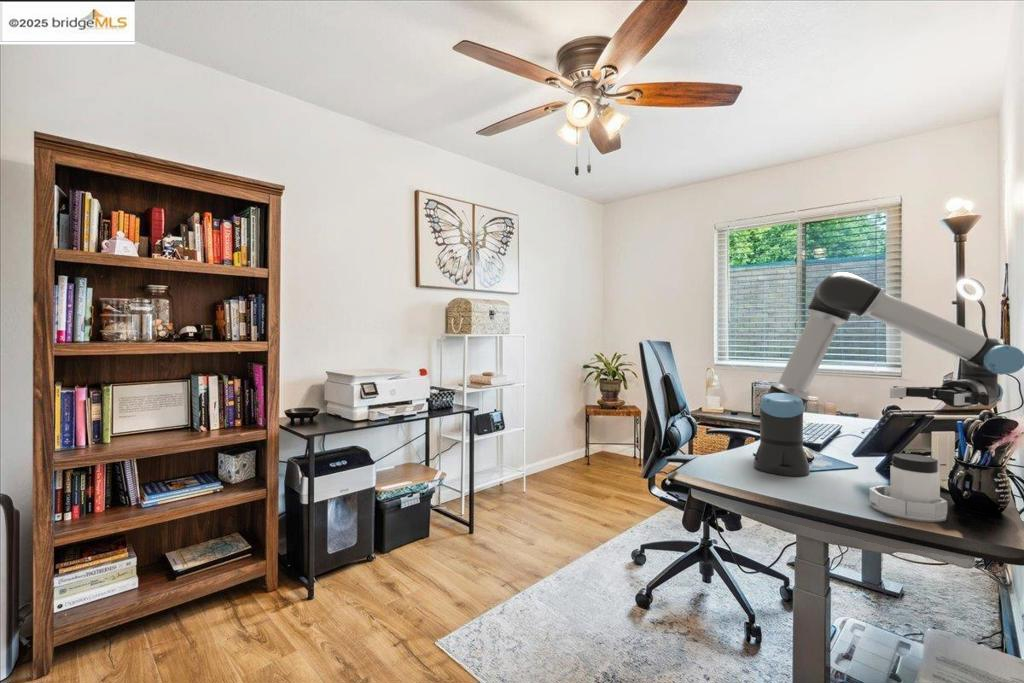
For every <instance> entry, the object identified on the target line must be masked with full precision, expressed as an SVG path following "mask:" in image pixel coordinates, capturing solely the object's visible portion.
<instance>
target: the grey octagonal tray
mask: <svg viewBox="0 0 1024 683" xmlns="http://www.w3.org/2000/svg"><path fill="white" fill-rule="evenodd" d="M869 501H870V503H869V505H870V507H871V508H872V509H873V510H875V511H877V512H879V513H881V514H885V515H887V516H890V517H893V518H896V519H897V518H898V519H900V520H901V519H902V520H906V521H907V520H908V521H913V522H919V523H929V522H937V523H943V522H946V520H947V515H948V501H947V500H946V499H944V498H943V497H941V496H940V501H939V502H936V503H933V504H930V503H919V502H909V501H903V500H900V499H896V498H892V497H890V485H885V484H884V485H877V486H872V487H869ZM942 521H943V522H942Z"/></svg>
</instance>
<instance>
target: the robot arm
mask: <svg viewBox="0 0 1024 683" xmlns="http://www.w3.org/2000/svg"><path fill="white" fill-rule="evenodd" d="M807 312H808V314H809V317H808V320H807V321H806V324H805V325H804V328H803V329H802V332H801V334H800V336H799V338H798V340H797V343H796V344H795V347H794V349H793V351H792V353H791V356H790V357H789V359H788V361H787V364H786V366H785V368H784V370H783V371H782V373H781V376H780V378H779V380H778V381H777V382H774V383H772V384H771V385H770V387H769V389H768V392H767V393H766V394H763V395H762V396H761V398H760V402H759V408H760V409H759V410H760V411H759V412H760V415H759V416H760V418H759V420H760V421H759V422H760V426H759V427H760V429H759V430H760V432H759V438H760V440H759V445H758V448H757V450H756V453H755V456H754V459H753V467H754V468H755V469H756V468H757V470H758V469H759V470H758V471H761V472H765V473H769V474H772V475H778V474H779V475H778V476H786V477H787V476H790V477H803V476H807V475H809V474H810V463H809V462H808V458H807V455H806V453H805V450H804V449H805V448H804V410H805V408H806V405H807V404H808V402H809V400H810V398H809V396H808V394H807V391H808V390H809V388H810V386H811V384H812V382H813V379H814V378H815V375H816V373H817V372H818V369H819V367H820V365H821V363H822V361H823V360H824V357H825V356H826V353H827V351H828V349H829V347H830V345H831V342H832V341H833V339H834V337H835V334H836V333H837V331H838V329H839V327H840V326H841V325H842V324H847V323H848V321H849V319H850V317H851V315H852V314H854V315H855V316H858V317H860V318H861V317H869V318H872V319H873V320H876V321H877V322H880V323H882V324H884V325H887V326H889V327H891V328H893V329H895V330H898V331H899V332H901V333H904V334H907V335H909V336H911V337H913V338H915V339H917V340H919V341H922V342H924V343H926V344H928V345H930V346H932V347H935V348H936V349H939V350H942V351H944V352H946V353H948V354H951V355H952V356H954V357H957V358H959V359H961V361H960V379H955V380H954V379H953V380H948V381H946V382H944V383H942V385H940V386H897V385H895V386H894V385H893V386H892V387H889V388H890V389H889V399H900V400H903V399H904V398H906V397H911V398H926V399H928V400H934V401H935V400H936V401H937V400H938V401H941V402H943V403H944V404H945V405H946V406H950V407H951V408H958V409H959V408H964V409H969V408H970V407H977V406H983V405H984V406H983V407H987V406H990V405H993V404H995V403H997V402H998V401H997V400H998V398H999V399H1000V400H1002V398H1003V396H1004V390H1003V387H1002V386H1001V384H1000V383H999V382H998V380H999V379H998V376H999V375H1002V376H1003V375H1010V374H1014V373H1018V372H1019V371H1021V370H1022V369H1023V368H1024V352H1023V351H1022V350H1021V349H1019V348H1018V347H1015V346H1013V345H1010V344H1003V343H1000V341H999V340H998V339H997V338H992V337H991V338H989V337H986V336H984V335H982V334H979V333H977V332H975V331H973V330H971V329H969V328H966V327H964V326H962V325H959V324H956V323H955V322H952V321H949V320H948V319H945V318H943V317H941V316H938V315H936V314H933V313H932V312H929V311H926V309H925V310H924V309H922V308H919V307H918V306H916V305H913V304H910V303H908V302H906V301H904V300H901V299H899V298H897V297H895V296H892V295H889V294H888V293H886V292H885V291H884V288H883V287H882V286H879V285H877V284H875V283H872V282H871V281H869V280H866V279H864V278H863V277H861V276H858V275H856V274H854V273H850V272H846V271H842V272H841V271H840V272H839V271H838V272H835V273H832V274H829V275H828V276H826V277H825V278H824V279H823V280H822V281H821V282H820V283H819V284H818V285H817V287H816V289H815V291H814V295H813V297H812V299H811V301H810V303H809V305H808V308H807ZM992 403H993V404H992ZM989 404H990V405H989Z"/></svg>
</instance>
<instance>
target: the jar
mask: <svg viewBox="0 0 1024 683" xmlns="http://www.w3.org/2000/svg"><path fill="white" fill-rule="evenodd" d="M891 461H892V464H891V465H889V467H890V468H889V470H890V471H889V473H890V475H889V476H890V478H889V482H890V483H889V486H890V497H892V498H896V499H900V500H903V501H909V502H919V503H930V504H933V503H936V502H939V501H940V497H941V496H940V495H941V472H940V471H939V470H938V468H939V466H938V465H939V461H938V459H936V458H934V457H930V456H925V455H921V454H913V453H901V452H899V453H894V454H892V460H891Z"/></svg>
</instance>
